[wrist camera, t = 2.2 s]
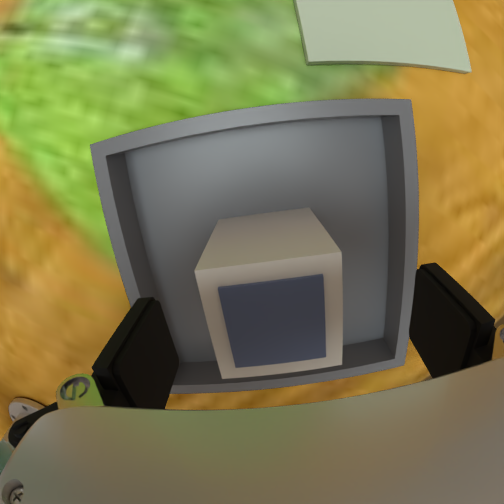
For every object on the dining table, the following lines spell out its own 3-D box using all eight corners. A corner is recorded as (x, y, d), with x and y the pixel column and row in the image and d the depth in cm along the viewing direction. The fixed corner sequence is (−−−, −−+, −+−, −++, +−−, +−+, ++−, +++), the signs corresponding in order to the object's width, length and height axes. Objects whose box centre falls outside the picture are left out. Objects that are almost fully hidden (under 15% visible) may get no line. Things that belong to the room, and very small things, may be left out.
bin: (389, 339, 20) (404, 365, 18) (174, 365, 22) (165, 393, 19) (387, 104, 15) (410, 99, 12) (114, 142, 16) (90, 144, 13)
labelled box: (315, 288, 18) (342, 367, 12) (233, 299, 19) (221, 381, 12) (309, 207, 17) (342, 253, 10) (218, 219, 17) (193, 272, 10)
